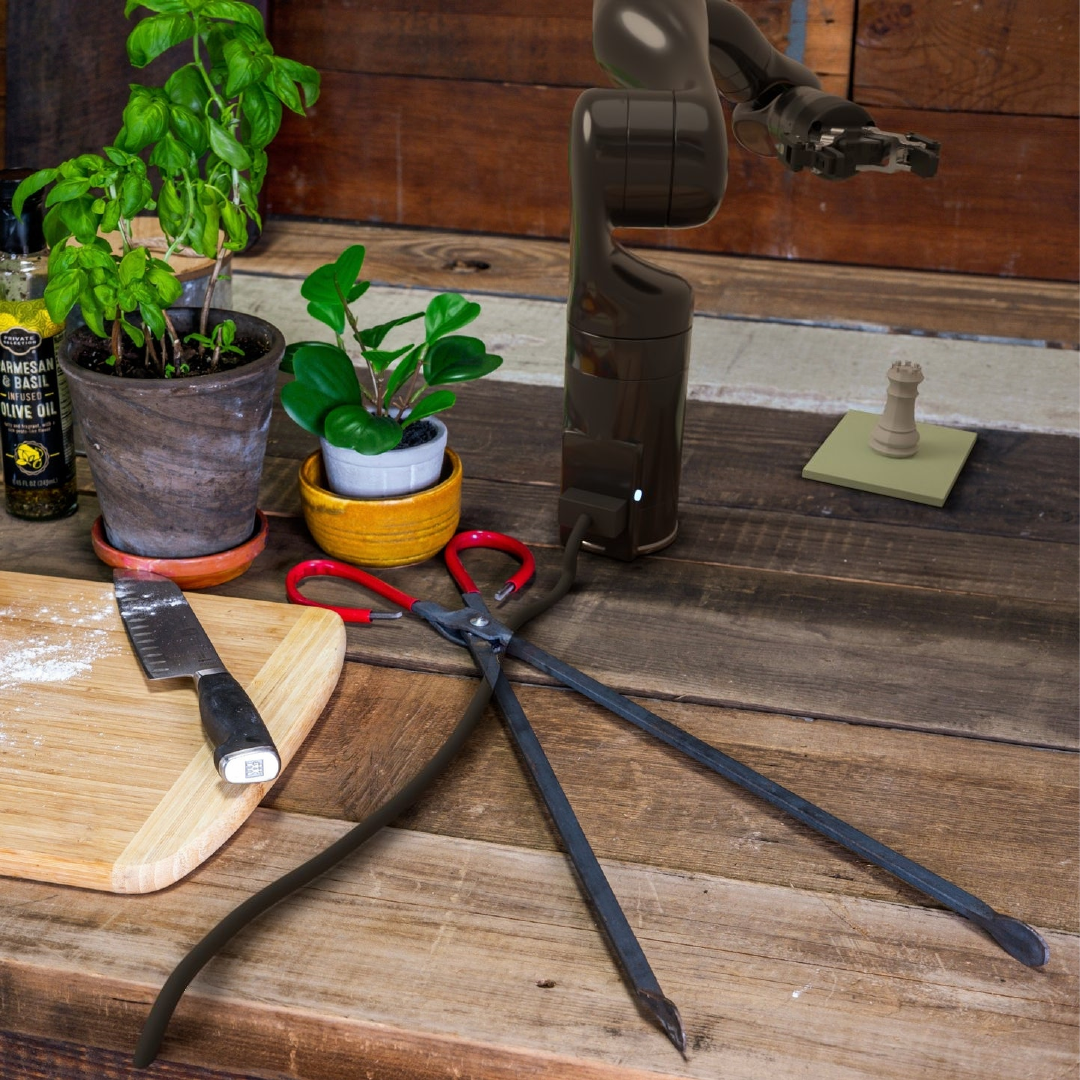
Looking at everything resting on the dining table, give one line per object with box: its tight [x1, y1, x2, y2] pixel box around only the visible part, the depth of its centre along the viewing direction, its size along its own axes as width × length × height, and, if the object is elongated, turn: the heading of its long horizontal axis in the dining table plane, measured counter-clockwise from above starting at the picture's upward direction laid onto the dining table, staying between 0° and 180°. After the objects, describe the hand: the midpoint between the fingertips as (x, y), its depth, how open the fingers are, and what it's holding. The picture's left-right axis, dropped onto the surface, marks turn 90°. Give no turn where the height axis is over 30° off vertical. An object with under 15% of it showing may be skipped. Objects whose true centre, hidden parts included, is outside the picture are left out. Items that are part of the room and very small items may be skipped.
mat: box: [801, 408, 978, 508], centre depth 113 cm, size 16×12×1 cm
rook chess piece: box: [868, 359, 925, 458], centre depth 111 cm, size 4×4×8 cm
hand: (886, 167), depth 112 cm, fingers open, 8 cm apart
